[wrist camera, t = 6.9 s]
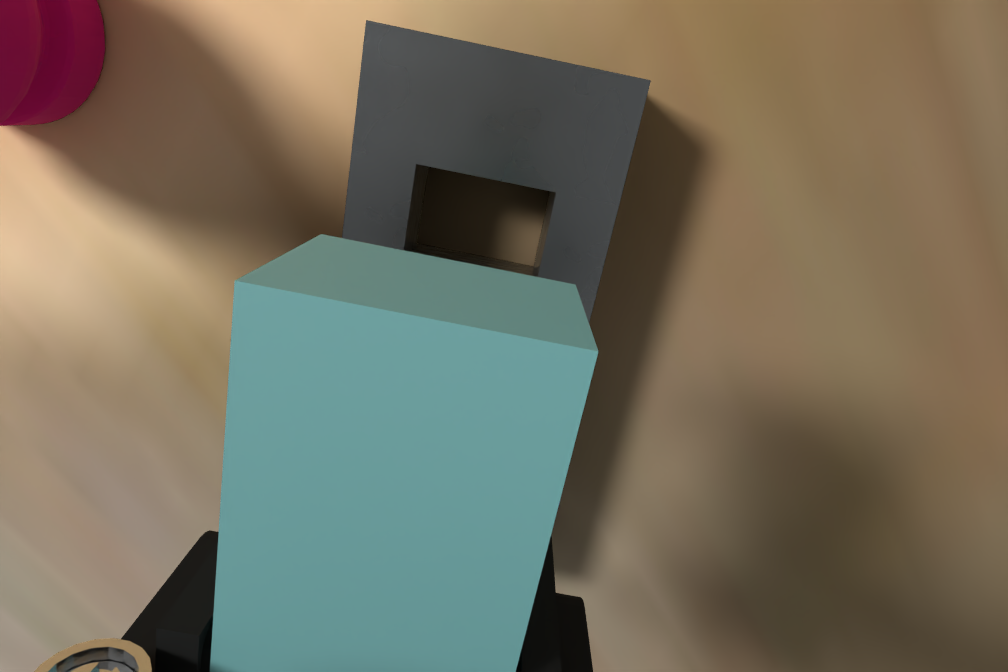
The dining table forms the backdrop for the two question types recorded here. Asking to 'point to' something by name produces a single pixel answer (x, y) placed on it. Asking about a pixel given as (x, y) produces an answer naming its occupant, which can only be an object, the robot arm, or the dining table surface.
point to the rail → (491, 144)
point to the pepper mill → (48, 58)
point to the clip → (391, 460)
